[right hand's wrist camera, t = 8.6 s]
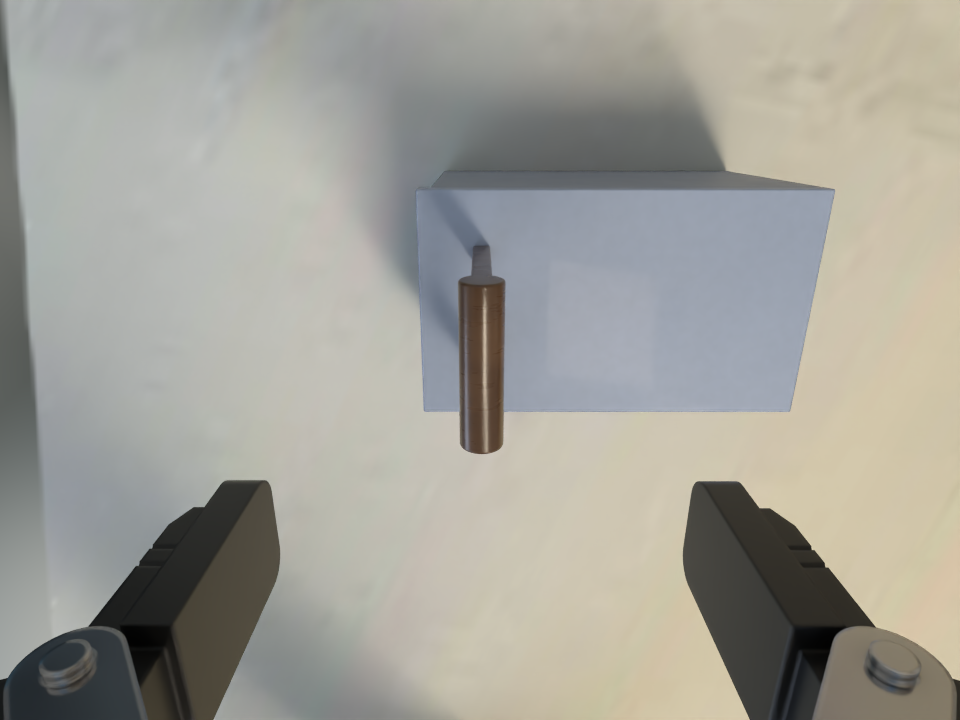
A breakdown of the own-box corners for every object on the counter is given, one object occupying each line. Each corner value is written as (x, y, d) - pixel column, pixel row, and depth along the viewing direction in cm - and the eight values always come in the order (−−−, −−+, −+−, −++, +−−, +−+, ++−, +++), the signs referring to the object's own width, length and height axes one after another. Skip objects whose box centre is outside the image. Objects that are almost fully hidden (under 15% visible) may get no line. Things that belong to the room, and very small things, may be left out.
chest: (447, 333, 37) (436, 403, 28) (444, 170, 34) (430, 187, 24) (704, 333, 37) (780, 403, 28) (726, 171, 34) (823, 187, 24)
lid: (425, 404, 28) (404, 508, 20) (417, 187, 24) (388, 213, 17) (781, 404, 28) (896, 508, 20) (824, 187, 24) (982, 213, 17)
